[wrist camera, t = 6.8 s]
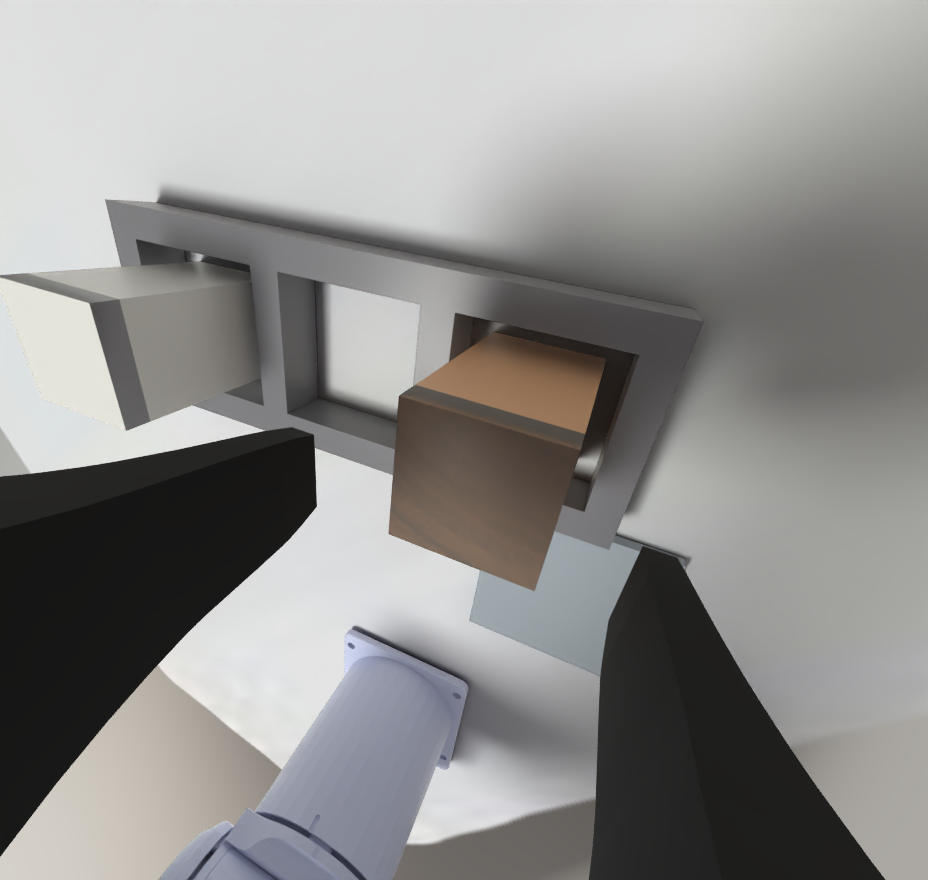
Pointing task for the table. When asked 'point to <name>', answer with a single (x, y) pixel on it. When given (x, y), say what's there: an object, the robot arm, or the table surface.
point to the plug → (492, 453)
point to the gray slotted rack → (418, 338)
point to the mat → (561, 600)
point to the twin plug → (135, 337)
